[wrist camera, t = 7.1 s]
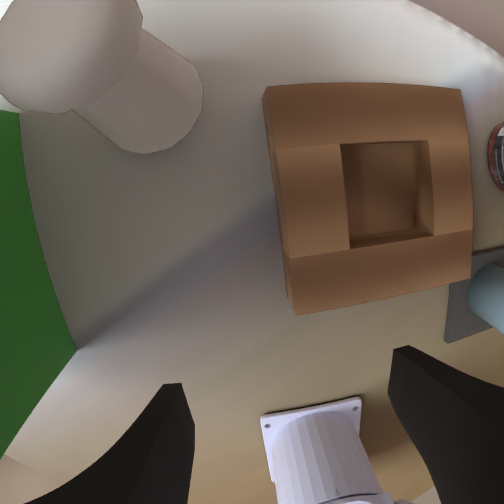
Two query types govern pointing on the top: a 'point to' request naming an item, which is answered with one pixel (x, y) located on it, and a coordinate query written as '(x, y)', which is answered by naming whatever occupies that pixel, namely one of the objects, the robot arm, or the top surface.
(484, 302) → the peg
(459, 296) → the mat
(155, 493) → the robot arm
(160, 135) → the salt shaker
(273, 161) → the holder
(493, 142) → the supplement bottle
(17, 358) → the green cereal box
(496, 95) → the top surface
